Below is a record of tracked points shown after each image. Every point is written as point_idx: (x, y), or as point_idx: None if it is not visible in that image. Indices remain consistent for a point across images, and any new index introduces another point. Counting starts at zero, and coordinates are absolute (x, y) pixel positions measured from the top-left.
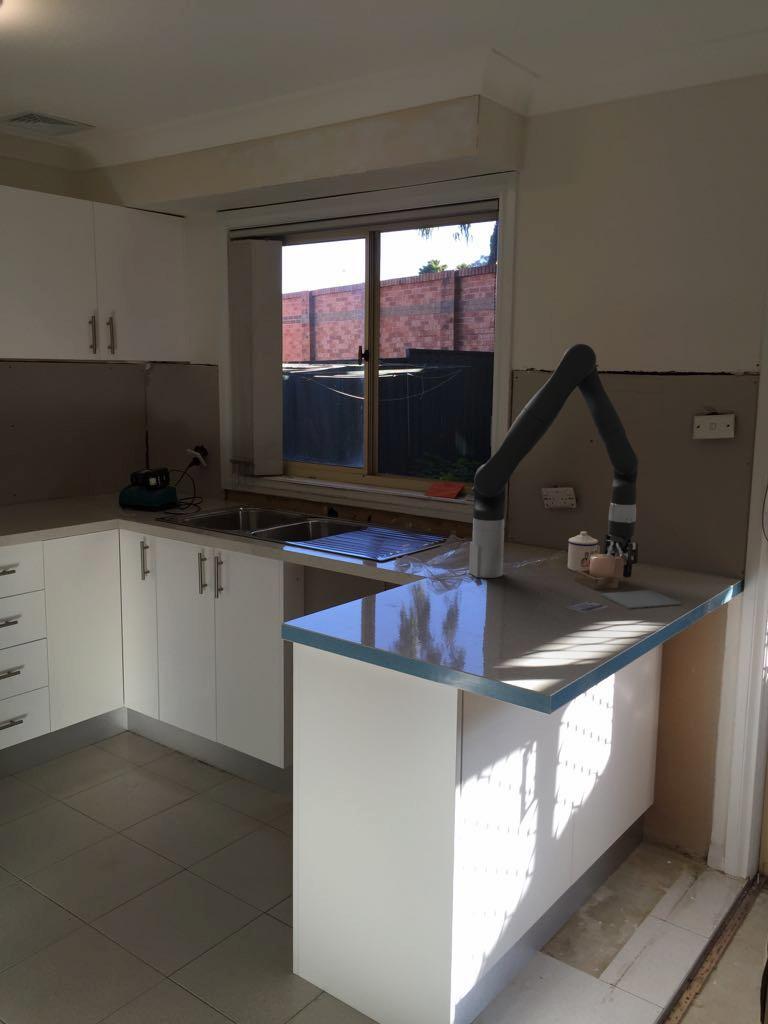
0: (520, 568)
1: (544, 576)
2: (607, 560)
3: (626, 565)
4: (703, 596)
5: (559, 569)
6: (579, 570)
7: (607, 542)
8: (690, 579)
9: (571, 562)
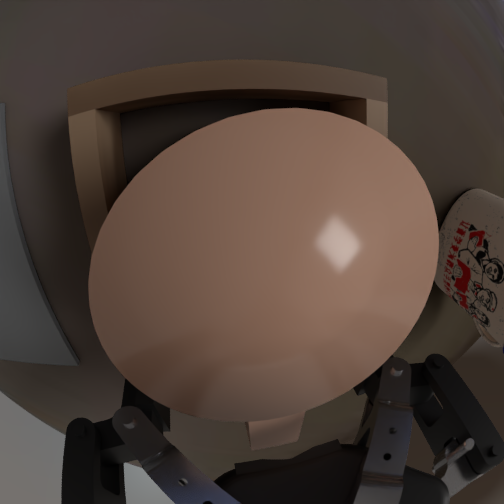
0: (497, 43)
1: (423, 13)
2: (97, 311)
3: (137, 407)
4: (65, 429)
5: (484, 152)
6: (374, 99)
7: (459, 432)
8: (233, 458)
9: (493, 198)
